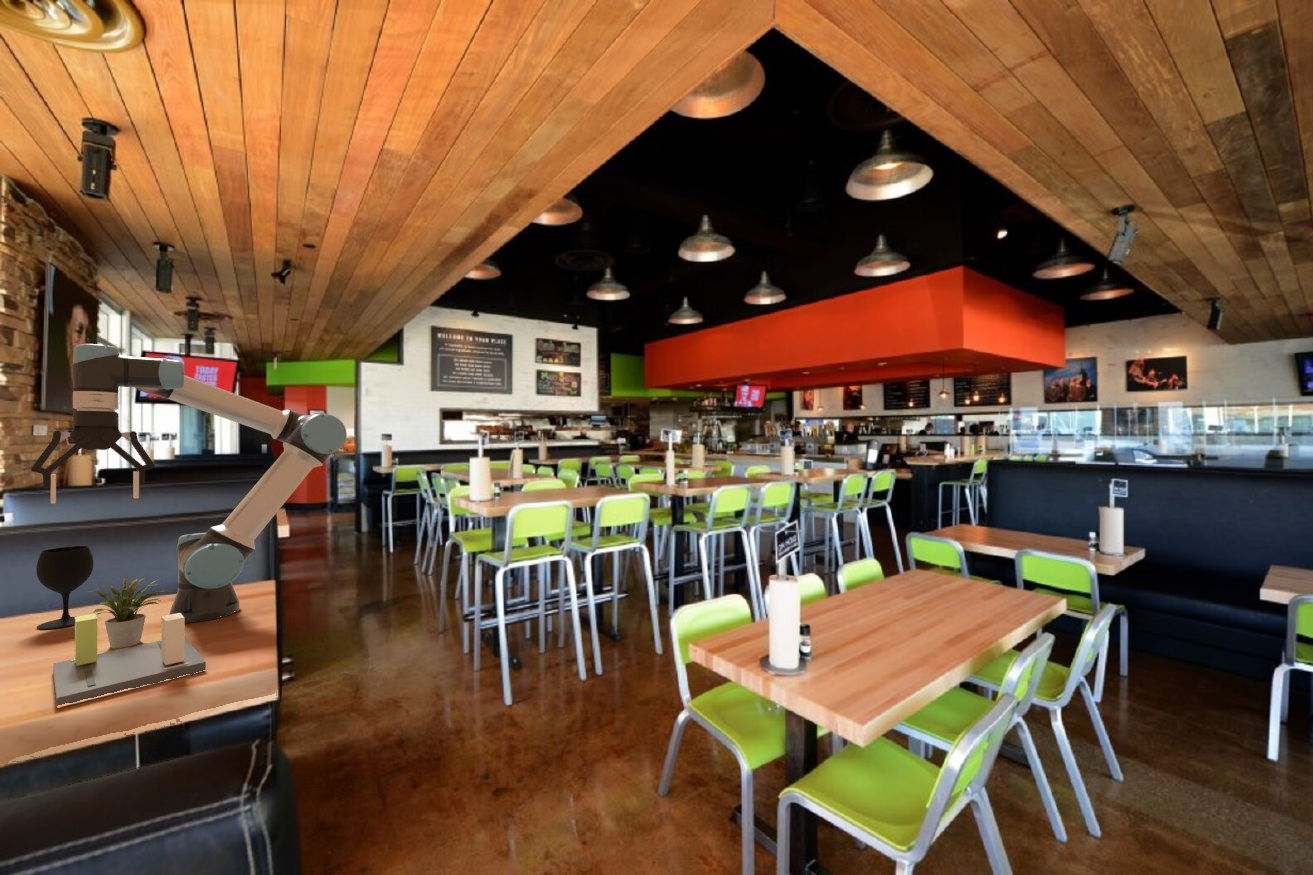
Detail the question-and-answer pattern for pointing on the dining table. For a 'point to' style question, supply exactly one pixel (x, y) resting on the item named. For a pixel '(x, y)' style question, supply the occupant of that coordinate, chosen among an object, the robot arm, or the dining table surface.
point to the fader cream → (173, 638)
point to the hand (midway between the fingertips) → (96, 500)
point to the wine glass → (64, 577)
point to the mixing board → (120, 671)
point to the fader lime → (85, 639)
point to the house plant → (125, 614)
